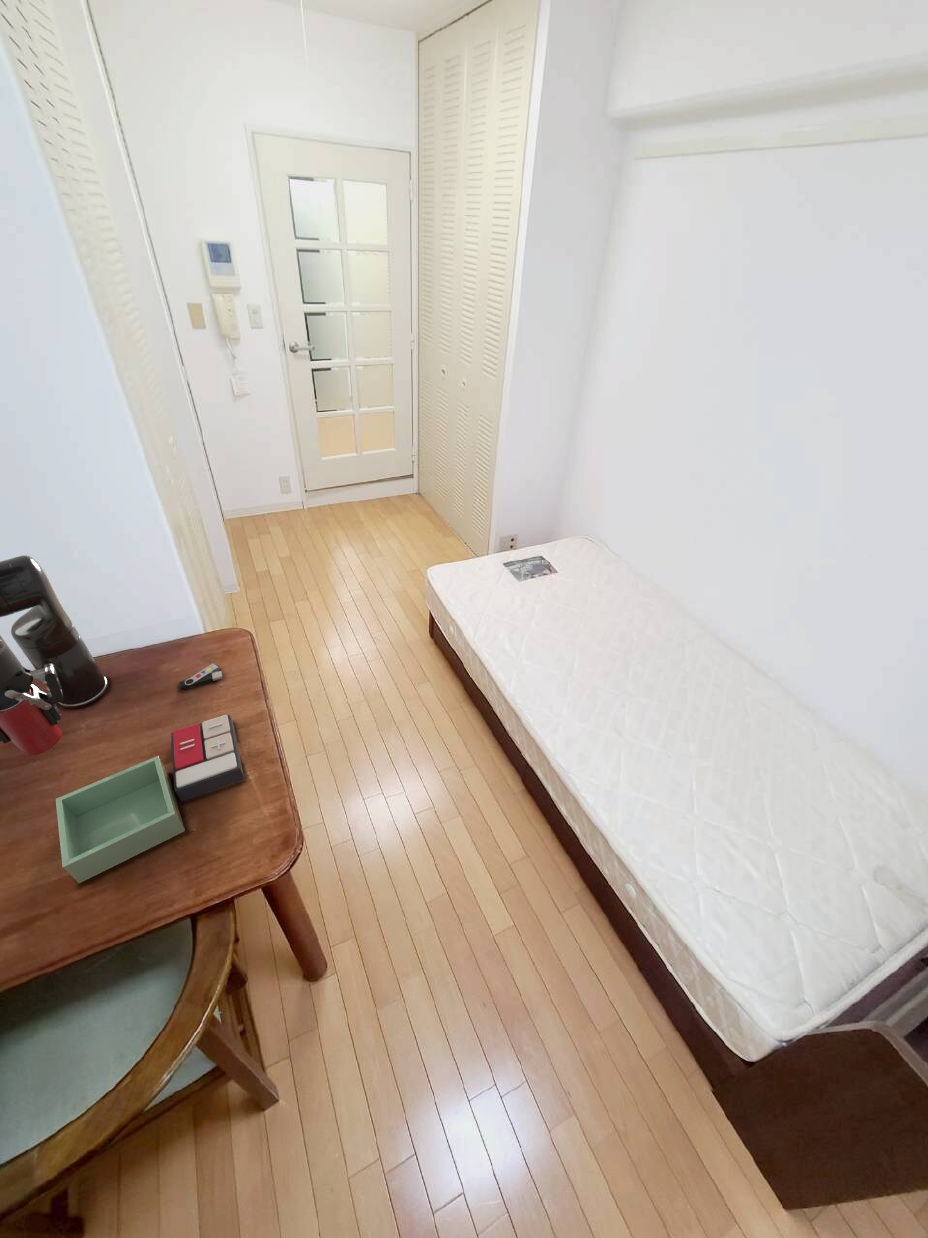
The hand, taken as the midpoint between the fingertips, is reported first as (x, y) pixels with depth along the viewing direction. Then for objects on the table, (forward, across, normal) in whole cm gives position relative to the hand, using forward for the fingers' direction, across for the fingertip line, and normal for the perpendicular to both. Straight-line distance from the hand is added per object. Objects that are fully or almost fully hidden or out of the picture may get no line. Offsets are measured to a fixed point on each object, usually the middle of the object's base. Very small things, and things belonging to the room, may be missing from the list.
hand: (31, 729), depth 79 cm
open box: (+19, -6, +11) cm, 22 cm away
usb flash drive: (+19, -25, -18) cm, 36 cm away
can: (+3, 0, 0) cm, 3 cm away
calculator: (+19, -20, +5) cm, 28 cm away
